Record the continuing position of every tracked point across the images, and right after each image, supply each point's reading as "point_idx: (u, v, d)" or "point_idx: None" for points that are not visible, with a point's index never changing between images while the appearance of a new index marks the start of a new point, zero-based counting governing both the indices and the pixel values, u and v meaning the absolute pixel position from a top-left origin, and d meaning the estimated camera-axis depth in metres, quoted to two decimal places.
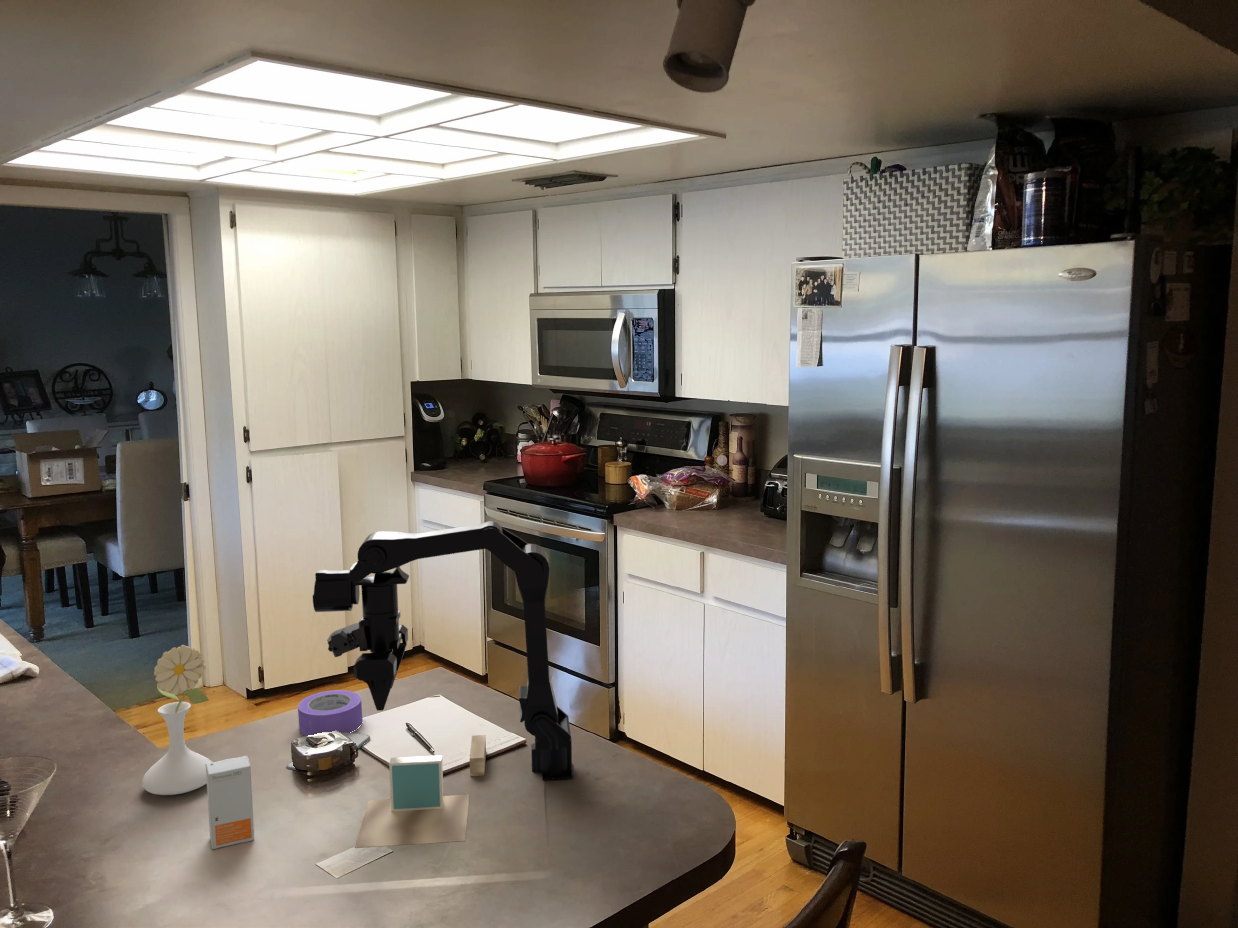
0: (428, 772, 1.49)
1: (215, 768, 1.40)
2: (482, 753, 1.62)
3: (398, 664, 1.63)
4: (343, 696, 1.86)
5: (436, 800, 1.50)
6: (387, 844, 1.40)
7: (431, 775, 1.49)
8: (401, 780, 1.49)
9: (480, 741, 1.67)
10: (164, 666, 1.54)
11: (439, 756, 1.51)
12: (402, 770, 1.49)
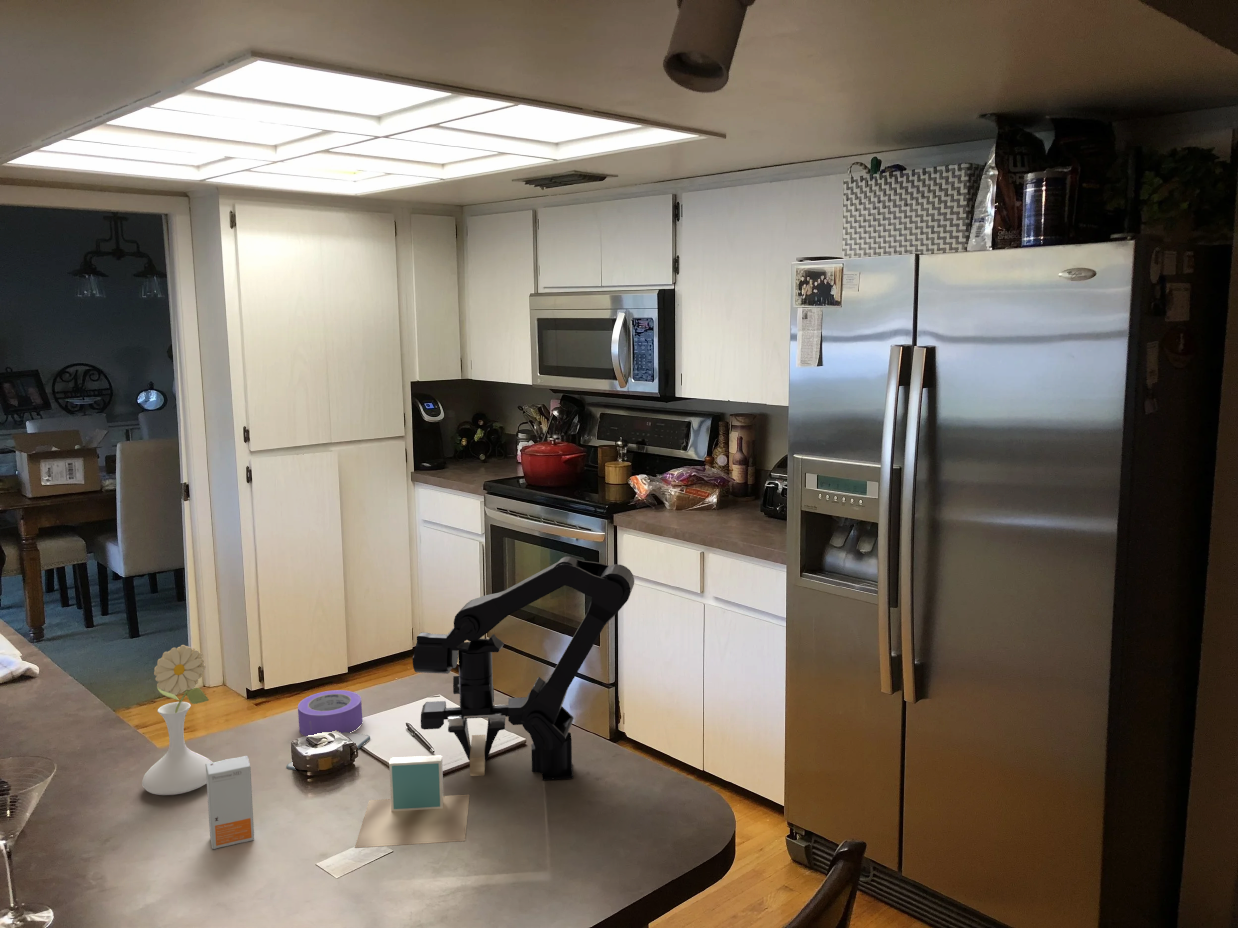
0: (428, 772, 1.49)
1: (215, 768, 1.40)
2: (482, 753, 1.62)
3: (486, 740, 1.63)
4: (343, 696, 1.86)
5: (436, 800, 1.50)
6: (387, 844, 1.40)
7: (431, 775, 1.49)
8: (401, 780, 1.49)
9: (480, 741, 1.67)
10: (164, 666, 1.54)
11: (439, 756, 1.51)
12: (402, 770, 1.49)
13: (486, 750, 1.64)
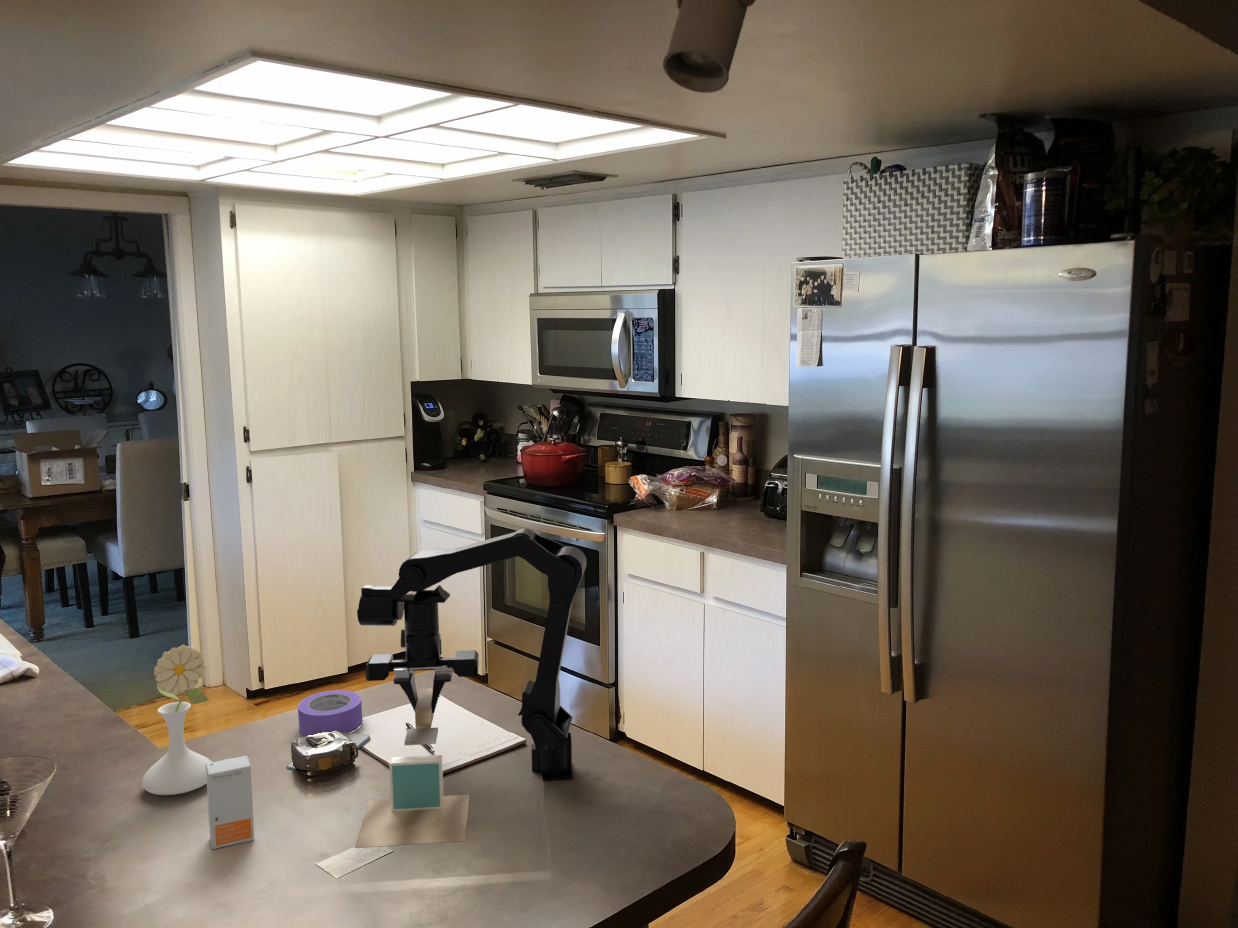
0: (428, 772, 1.49)
1: (215, 768, 1.40)
2: (428, 705, 1.61)
3: (432, 693, 1.62)
4: (343, 696, 1.86)
5: (436, 800, 1.50)
6: (387, 844, 1.40)
7: (431, 775, 1.49)
8: (401, 780, 1.49)
9: (427, 694, 1.66)
10: (164, 666, 1.54)
11: (439, 756, 1.51)
12: (402, 770, 1.49)
13: (433, 703, 1.63)
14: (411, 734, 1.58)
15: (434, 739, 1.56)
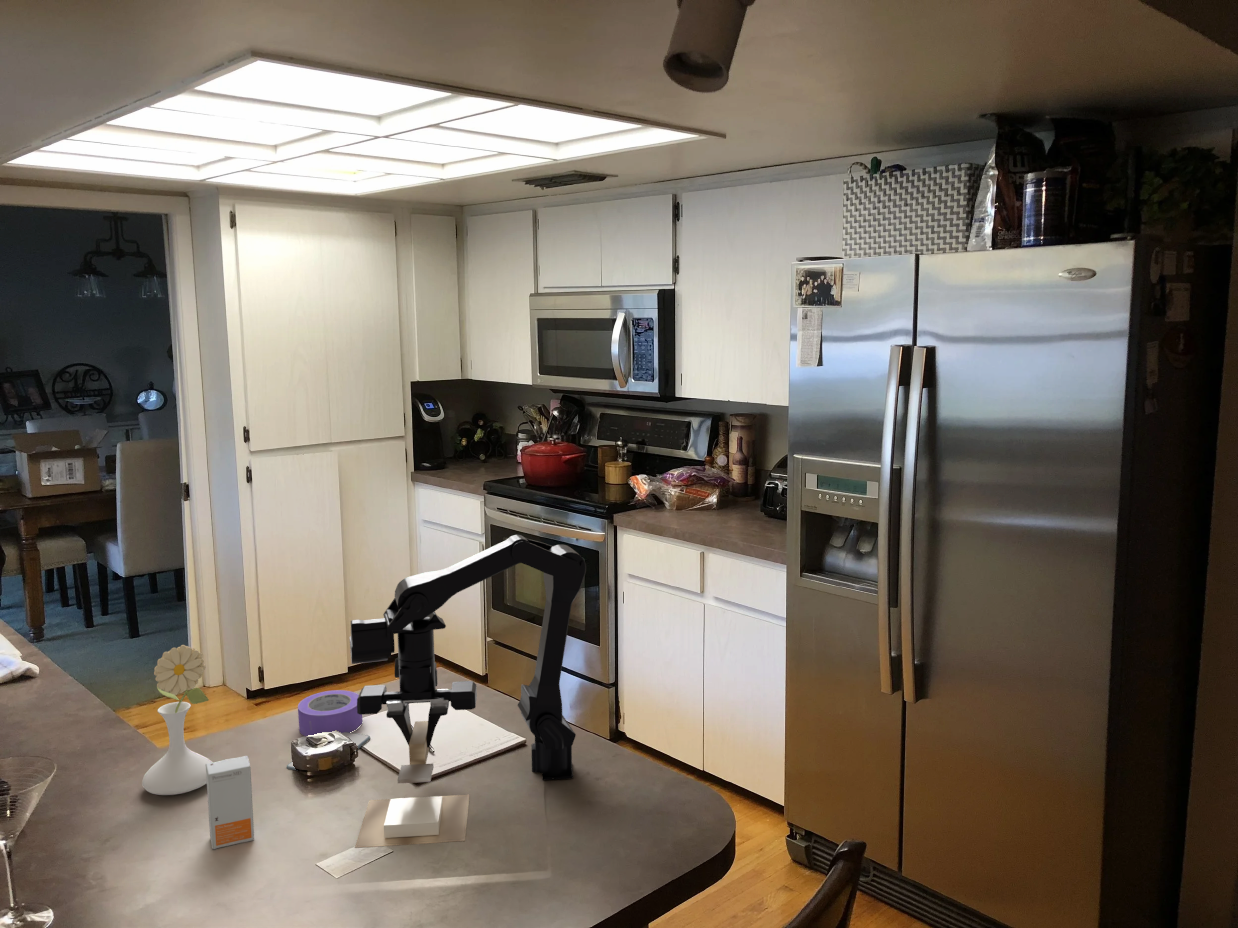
0: None
1: (215, 768, 1.40)
2: (423, 739, 1.53)
3: None
4: (343, 696, 1.86)
5: None
6: (387, 844, 1.40)
7: None
8: None
9: (423, 727, 1.57)
10: (164, 666, 1.54)
11: (435, 824, 1.42)
12: None
13: (428, 737, 1.54)
14: (405, 771, 1.49)
15: (429, 777, 1.47)
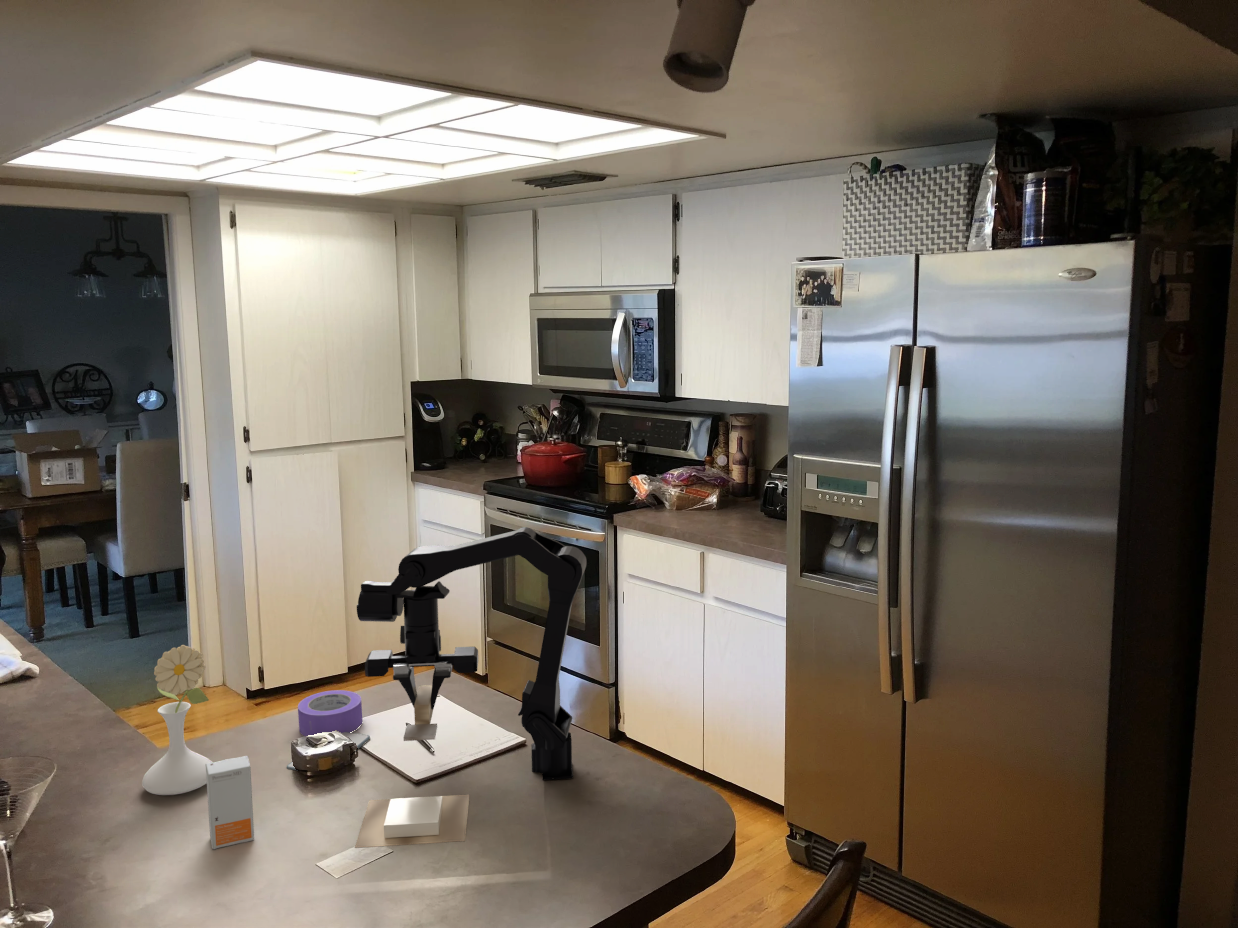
0: None
1: (215, 768, 1.40)
2: (427, 701, 1.61)
3: (432, 689, 1.62)
4: (343, 696, 1.86)
5: None
6: (387, 844, 1.40)
7: None
8: None
9: (427, 690, 1.65)
10: (164, 666, 1.54)
11: (435, 824, 1.42)
12: None
13: (432, 699, 1.63)
14: (410, 730, 1.57)
15: (433, 735, 1.56)
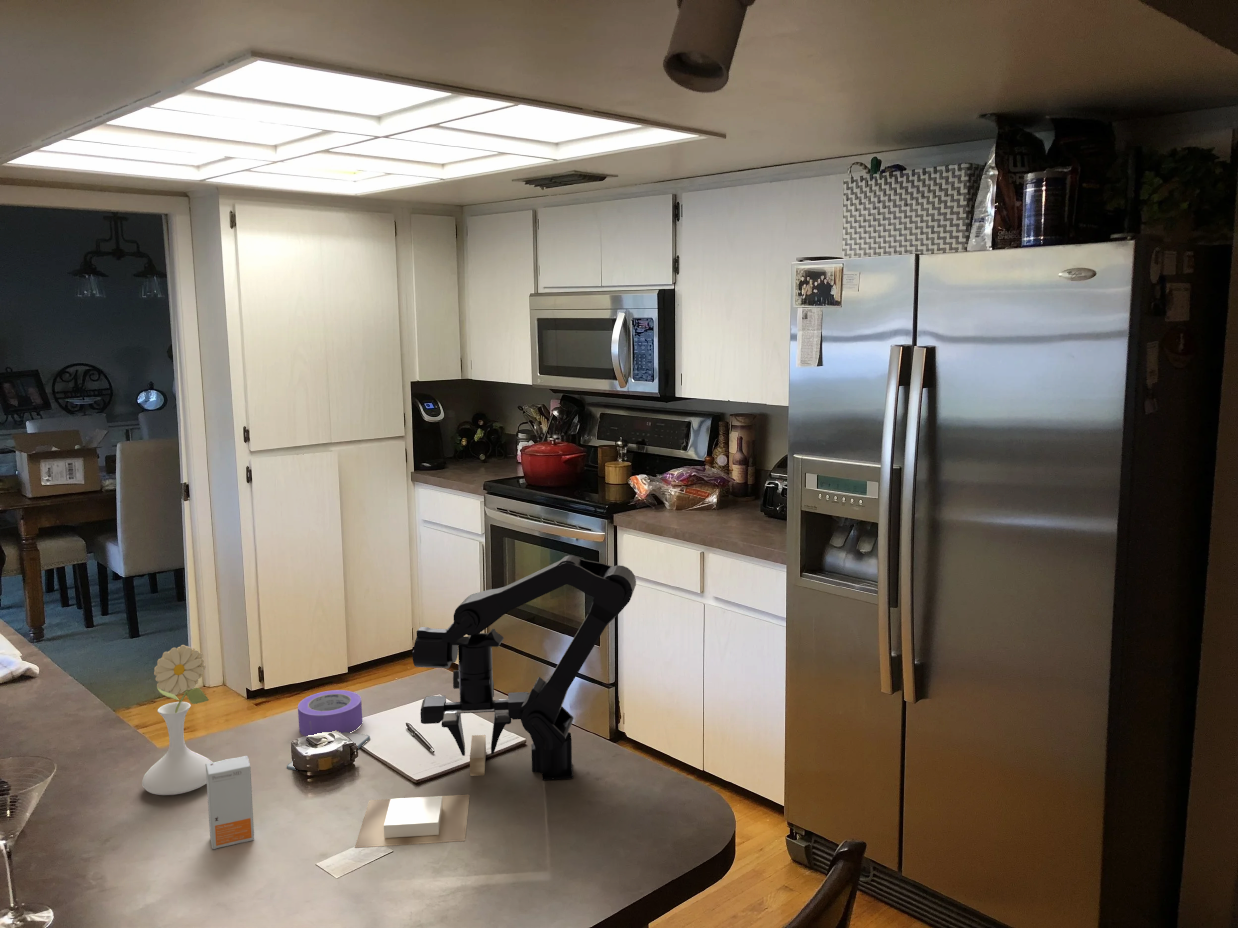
0: None
1: (215, 768, 1.40)
2: (482, 753, 1.62)
3: (492, 734, 1.63)
4: (343, 696, 1.86)
5: None
6: (387, 844, 1.40)
7: None
8: None
9: (480, 741, 1.67)
10: (164, 666, 1.54)
11: (435, 824, 1.42)
12: None
13: (492, 744, 1.64)
14: None
15: None
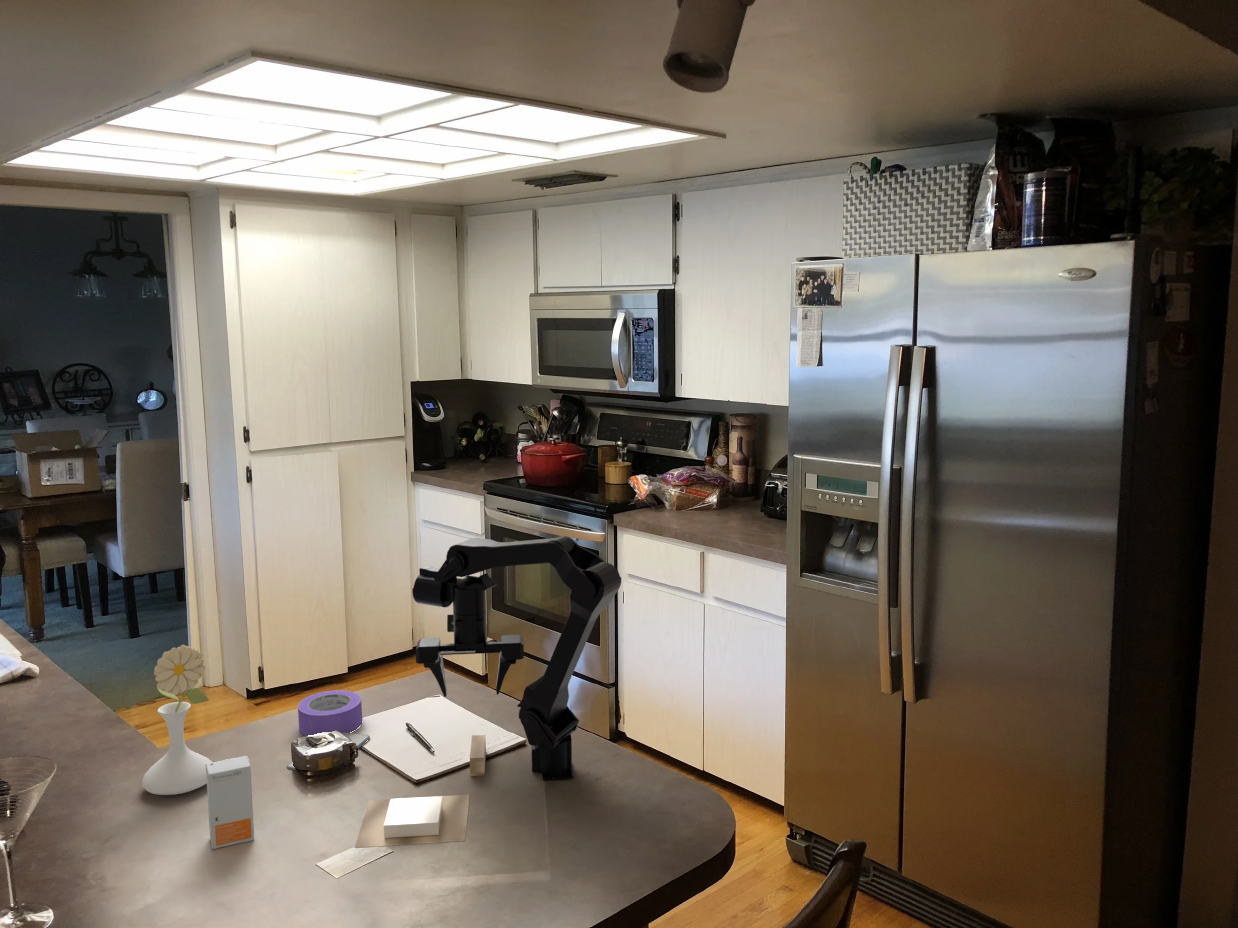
0: None
1: (215, 768, 1.40)
2: (482, 753, 1.62)
3: (498, 674, 1.68)
4: (343, 696, 1.86)
5: None
6: (387, 844, 1.40)
7: None
8: None
9: (480, 741, 1.67)
10: (164, 666, 1.54)
11: (435, 824, 1.42)
12: None
13: (498, 684, 1.68)
14: None
15: None
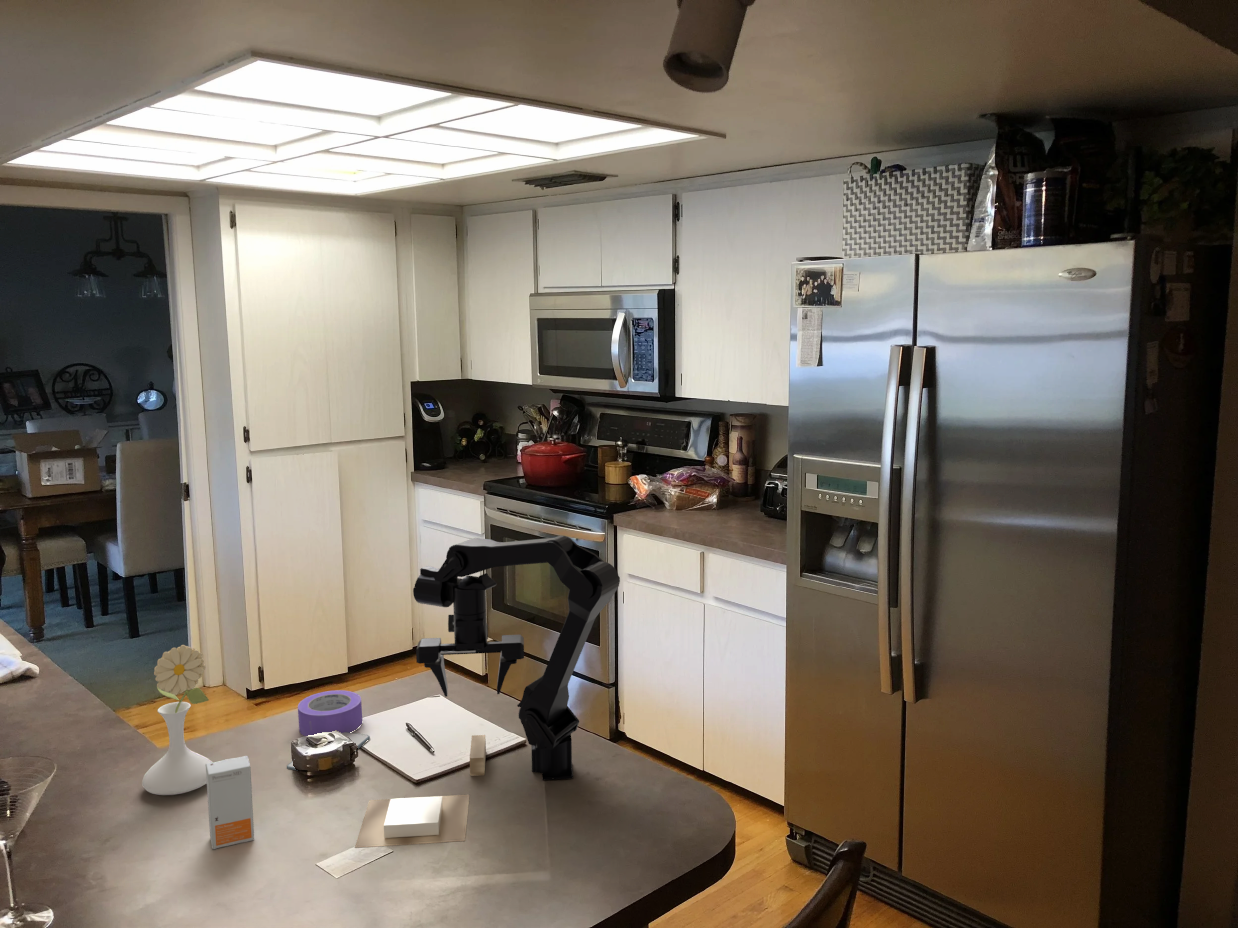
0: None
1: (215, 768, 1.40)
2: (482, 753, 1.62)
3: (498, 674, 1.68)
4: (343, 696, 1.86)
5: None
6: (387, 844, 1.40)
7: None
8: None
9: (480, 741, 1.67)
10: (164, 666, 1.54)
11: (435, 824, 1.42)
12: None
13: (498, 684, 1.69)
14: None
15: None
